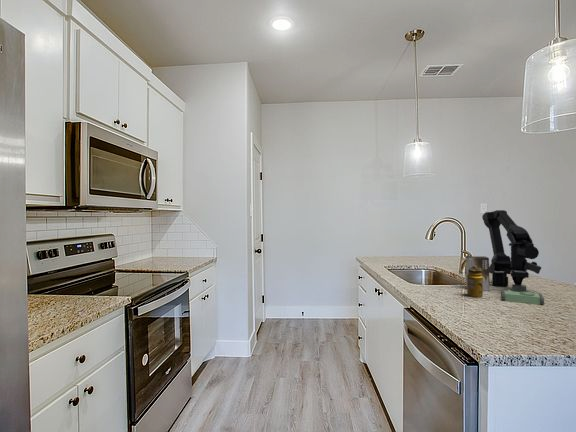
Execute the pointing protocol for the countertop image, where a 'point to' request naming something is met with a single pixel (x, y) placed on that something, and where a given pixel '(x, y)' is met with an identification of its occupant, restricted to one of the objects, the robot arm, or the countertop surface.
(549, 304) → the countertop surface
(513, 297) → the green toy cart
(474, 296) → the condiment
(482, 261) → the coffee box
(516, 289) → the stepped grey block
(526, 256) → the robot arm
